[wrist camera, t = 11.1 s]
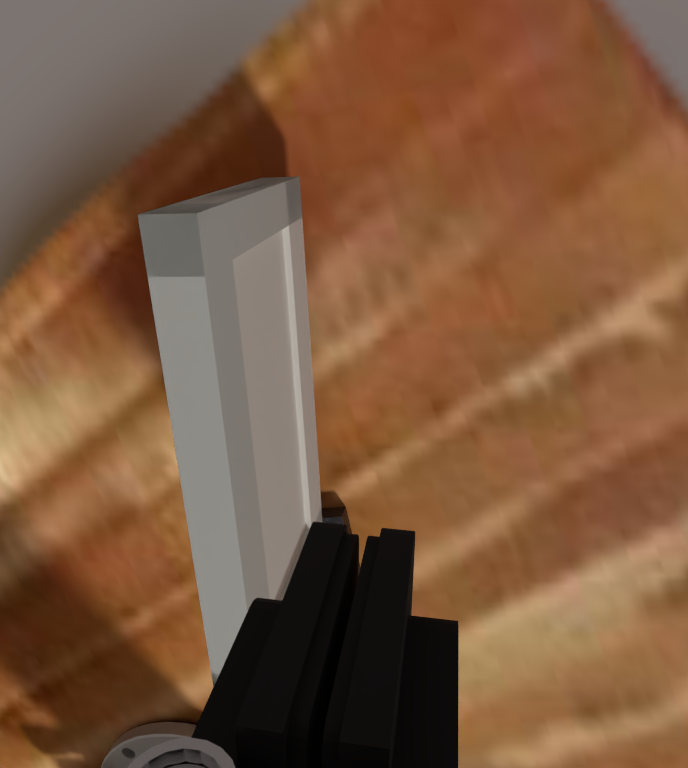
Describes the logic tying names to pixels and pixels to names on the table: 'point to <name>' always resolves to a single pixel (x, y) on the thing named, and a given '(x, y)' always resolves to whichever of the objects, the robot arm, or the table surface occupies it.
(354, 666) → the robot arm
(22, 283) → the table surface
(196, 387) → the panel
